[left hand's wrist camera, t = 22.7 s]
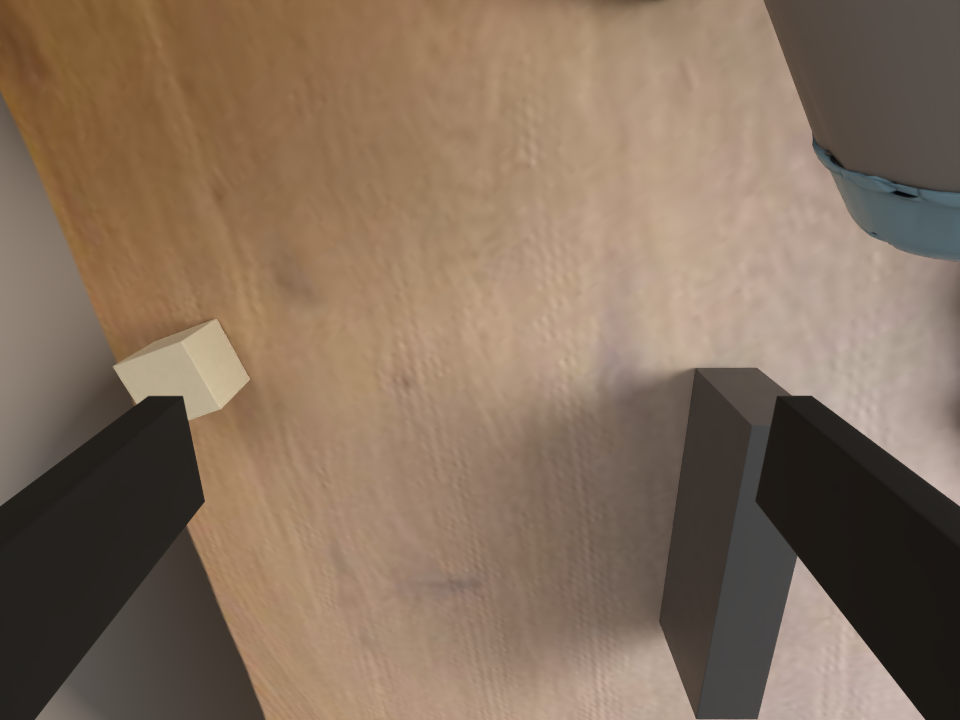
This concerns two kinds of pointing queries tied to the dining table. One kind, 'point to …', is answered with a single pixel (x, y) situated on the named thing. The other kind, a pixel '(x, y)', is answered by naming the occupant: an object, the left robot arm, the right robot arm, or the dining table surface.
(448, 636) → the dining table surface
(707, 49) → the dining table surface
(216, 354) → the cream block
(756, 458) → the plank
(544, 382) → the dining table surface
